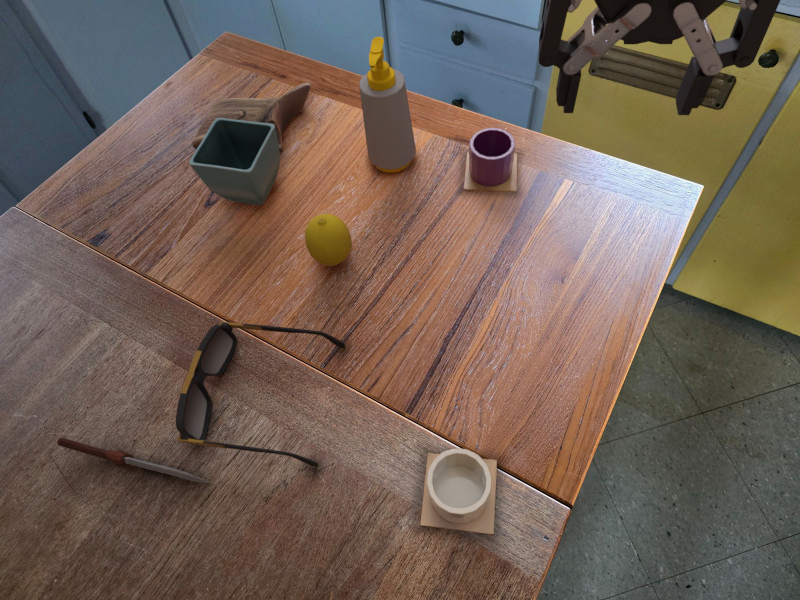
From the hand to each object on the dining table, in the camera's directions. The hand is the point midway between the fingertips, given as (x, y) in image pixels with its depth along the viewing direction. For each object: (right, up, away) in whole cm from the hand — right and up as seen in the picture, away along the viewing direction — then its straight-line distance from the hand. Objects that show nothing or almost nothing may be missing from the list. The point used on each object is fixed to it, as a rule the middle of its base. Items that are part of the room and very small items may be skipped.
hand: (624, 107), depth 43 cm
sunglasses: (-32, -26, +19) cm, 45 cm away
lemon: (-26, -10, +28) cm, 39 cm away
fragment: (-39, +12, +42) cm, 59 cm away
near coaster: (-12, -34, +11) cm, 38 cm away
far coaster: (-5, +2, +33) cm, 33 cm away
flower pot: (-38, 0, +35) cm, 52 cm away
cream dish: (-12, -34, +11) cm, 38 cm away
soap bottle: (-19, +5, +36) cm, 41 cm away
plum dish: (-5, +3, +32) cm, 33 cm away
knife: (-45, -33, +16) cm, 58 cm away
